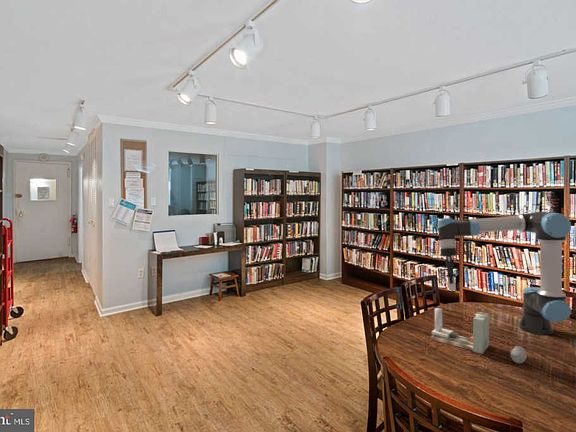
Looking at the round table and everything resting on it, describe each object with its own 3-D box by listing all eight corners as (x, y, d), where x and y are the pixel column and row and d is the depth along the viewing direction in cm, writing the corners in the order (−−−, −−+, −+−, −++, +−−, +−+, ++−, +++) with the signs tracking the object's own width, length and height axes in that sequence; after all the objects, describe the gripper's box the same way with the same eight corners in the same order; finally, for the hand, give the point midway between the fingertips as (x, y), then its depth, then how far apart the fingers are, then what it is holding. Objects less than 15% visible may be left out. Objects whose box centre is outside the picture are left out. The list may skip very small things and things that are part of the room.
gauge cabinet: (489, 345, 169) (490, 311, 168) (483, 354, 160) (484, 318, 159) (478, 342, 172) (479, 309, 171) (471, 351, 164) (472, 315, 163)
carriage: (459, 334, 177) (459, 310, 176) (454, 339, 171) (454, 315, 170) (437, 329, 184) (437, 306, 183) (431, 334, 178) (431, 310, 178)
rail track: (479, 343, 171) (479, 339, 171) (473, 350, 164) (473, 345, 164) (437, 333, 185) (437, 328, 185) (430, 339, 178) (430, 334, 177)
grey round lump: (529, 363, 151) (530, 347, 151) (522, 367, 147) (522, 351, 147) (514, 357, 156) (515, 342, 156) (506, 362, 153) (507, 346, 152)
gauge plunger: (480, 343, 167) (480, 338, 167) (479, 344, 166) (479, 339, 166) (471, 340, 170) (471, 336, 170) (470, 342, 168) (470, 337, 168)
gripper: (441, 250, 191) (445, 289, 187) (438, 246, 169) (443, 291, 165) (456, 249, 188) (460, 289, 184) (455, 245, 166) (460, 290, 162)
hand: (452, 290), depth 175 cm, fingers open, 13 cm apart
